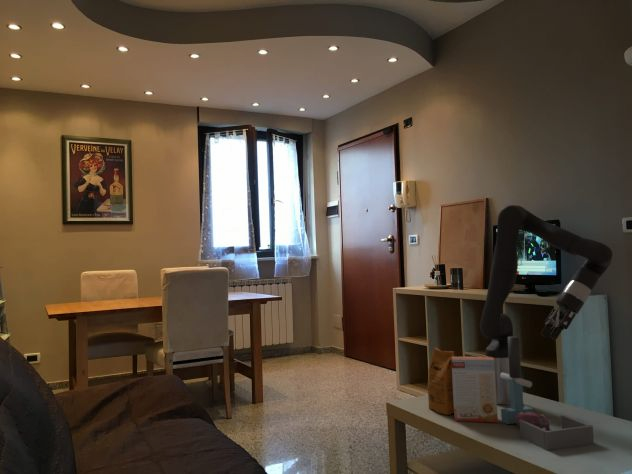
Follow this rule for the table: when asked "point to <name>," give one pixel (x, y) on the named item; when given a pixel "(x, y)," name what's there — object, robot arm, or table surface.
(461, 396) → the cracker box
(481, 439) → the table surface
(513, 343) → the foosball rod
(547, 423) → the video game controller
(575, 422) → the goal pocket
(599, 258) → the robot arm
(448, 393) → the coffee package
